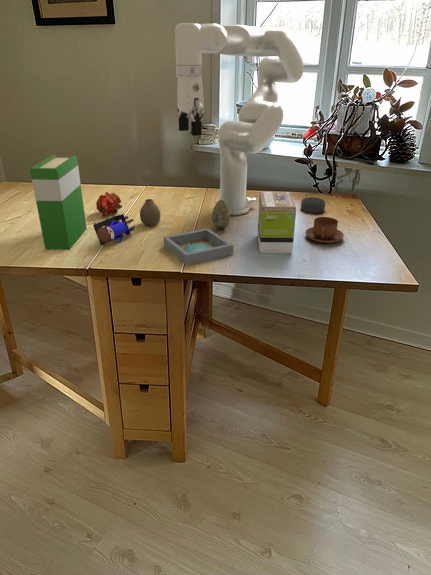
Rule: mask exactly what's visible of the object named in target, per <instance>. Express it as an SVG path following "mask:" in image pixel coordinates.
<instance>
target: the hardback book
mask: <svg viewBox="0 0 431 575" xmlns="http://www.w3.org/2000/svg"><path fill="white" fill-rule="evenodd" d="M29 170H30V177H31V181H32V186H33V191H34V198H35V203H36V208H37V213H38V218H39V224H40V228H41V233H42V239H43V245H44V249H45V250H47V251H48V250H53V251H55V250H57V251H70V250H71V249H72V248H74V245H75V244H77V241H78V240H79V239H80V238H81V237H82V235H83V234H84V233H85V232H86V230H87V229H88V228H87V220H86V215H85V214H86V213H85V206H84V199H83V191H82V184H81V177H80V176H81V175H80V171H79V170H80V169H79V162H78V156H77V155H75V154H74V155H72V156H71V157H57V155H56V154H52V155H50V156H48V157H47V158H45V159H43V160H42V161H40V162H37V164H36V165H33V166H32V167H30V168H29Z"/></svg>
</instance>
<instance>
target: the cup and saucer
mask: <svg viewBox="0 0 431 575" xmlns="http://www.w3.org/2000/svg"><path fill="white" fill-rule="evenodd" d="M338 224H339V221H338V219H335V218H334V217H329V216H318V217H316V218H314V220H313V227H310V228H307V229H305V233H304V234H305V236H306V237H307V238H308V239H310V240H312V241H314V242H317V243H321V244H333V243H337V242H340V241H341V240H343V239H344V236H345V234H344V233H343V232H342V231H341V230H338V226H339V225H338Z"/></svg>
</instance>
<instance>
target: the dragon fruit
mask: <svg viewBox="0 0 431 575" xmlns="http://www.w3.org/2000/svg"><path fill="white" fill-rule="evenodd" d="M121 203H122V199H121V197H120V196H119V195H117V194H116V193H115V192H111V193H110V192H108V191H107V192H105V193H104V194H101V195H99V197H98V199H97V200H96V203H95V204H96V210H98V212H99V213H100V214H101V216H102V217H108V216H110V215H111V214H112V215H113V216H116V215H117V213H118V211H119V210H120V209H122V207H123V205H122V204H121Z"/></svg>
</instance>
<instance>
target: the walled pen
mask: <svg viewBox="0 0 431 575" xmlns="http://www.w3.org/2000/svg"><path fill="white" fill-rule="evenodd" d="M204 240H206V241H208V242H210V243H211V244H212V245H214V247H213V246H211V245H209V244H206V243H194V242H199V241H204ZM185 244H187V245H185ZM180 245H185V246H184V247H181V246H180ZM163 247H164V248H165V249H166V250H168V251H169V252H170V253H171V254H172V255H174V256H175V257H176V258H177V259H178V260H179V261H181V262H182V264H184V265H186V266H189V265H192V264H193V265H194V264H197V263H202V262H207V261H211V260H215V259H220V258H224V257H228V256H233V255H234V244H233V243H232V242H230V241H228V240H227V239H225V238H223V237H222V236H221V235H219V234H217V232H214V231H213V230H211V229H210V228H203V229H199V230H198V229H197V230H193V231H188V232H181V233H177V234H172V235H167V236H163Z"/></svg>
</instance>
